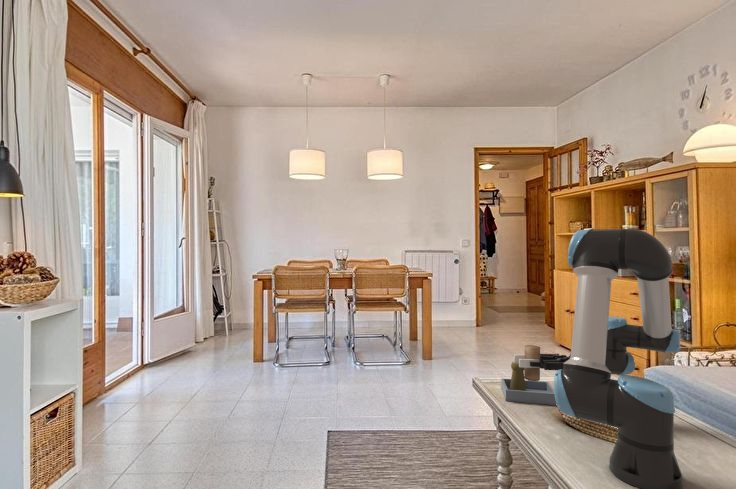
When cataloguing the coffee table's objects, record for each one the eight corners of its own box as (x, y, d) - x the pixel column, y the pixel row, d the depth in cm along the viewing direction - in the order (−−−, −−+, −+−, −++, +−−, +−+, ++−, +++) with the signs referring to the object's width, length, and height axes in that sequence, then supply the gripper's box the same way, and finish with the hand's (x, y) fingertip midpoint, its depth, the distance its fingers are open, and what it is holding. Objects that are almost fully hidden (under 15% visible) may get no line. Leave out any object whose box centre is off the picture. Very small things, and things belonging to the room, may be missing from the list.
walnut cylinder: (541, 381, 142) (541, 348, 142) (525, 380, 143) (526, 348, 143) (538, 377, 147) (538, 345, 147) (523, 376, 148) (523, 344, 148)
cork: (507, 390, 164) (508, 362, 164) (512, 386, 169) (512, 359, 169) (523, 393, 161) (523, 364, 161) (527, 389, 166) (528, 361, 166)
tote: (557, 405, 152) (557, 394, 152) (505, 400, 155) (505, 390, 155) (548, 391, 166) (548, 381, 166) (501, 388, 170) (501, 378, 170)
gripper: (598, 381, 136) (525, 379, 136) (572, 366, 154) (508, 364, 154) (598, 358, 136) (526, 356, 136) (572, 345, 154) (508, 344, 154)
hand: (516, 360), depth 145 cm, fingers closed on walnut cylinder, 5 cm apart
